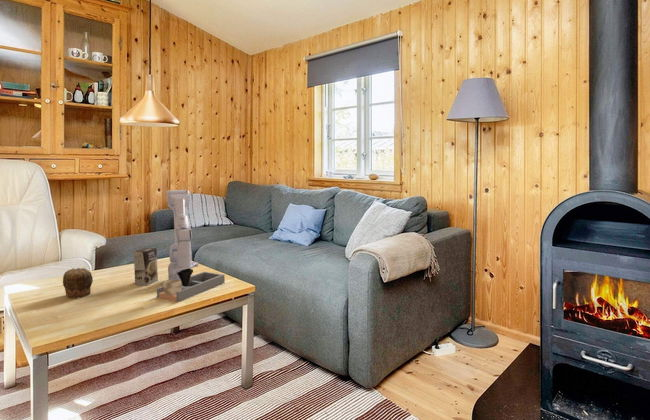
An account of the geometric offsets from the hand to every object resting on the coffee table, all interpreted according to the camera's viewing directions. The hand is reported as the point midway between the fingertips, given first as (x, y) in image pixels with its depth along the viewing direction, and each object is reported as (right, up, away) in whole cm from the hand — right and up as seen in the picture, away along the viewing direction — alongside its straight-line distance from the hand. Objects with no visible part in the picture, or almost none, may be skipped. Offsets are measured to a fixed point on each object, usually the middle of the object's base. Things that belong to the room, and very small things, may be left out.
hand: (185, 285), depth 179 cm
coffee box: (-23, -1, +14) cm, 27 cm away
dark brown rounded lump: (-44, -4, -4) cm, 45 cm away
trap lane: (+2, -3, +4) cm, 5 cm away
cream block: (-3, -2, -7) cm, 7 cm away
